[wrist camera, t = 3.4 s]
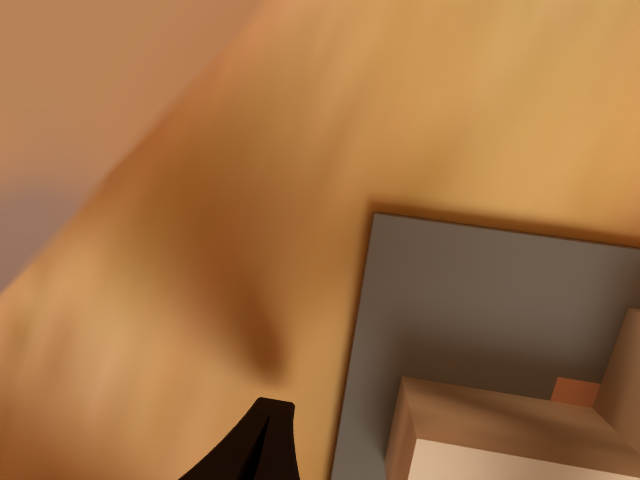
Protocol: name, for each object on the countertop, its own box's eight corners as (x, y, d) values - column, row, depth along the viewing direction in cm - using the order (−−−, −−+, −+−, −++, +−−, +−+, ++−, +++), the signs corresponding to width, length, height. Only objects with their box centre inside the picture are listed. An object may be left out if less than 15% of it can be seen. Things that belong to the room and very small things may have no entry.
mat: (318, 547, 16) (317, 563, 15) (373, 211, 12) (374, 213, 11) (801, 645, 14) (820, 665, 14) (1020, 299, 11) (1059, 307, 10)
